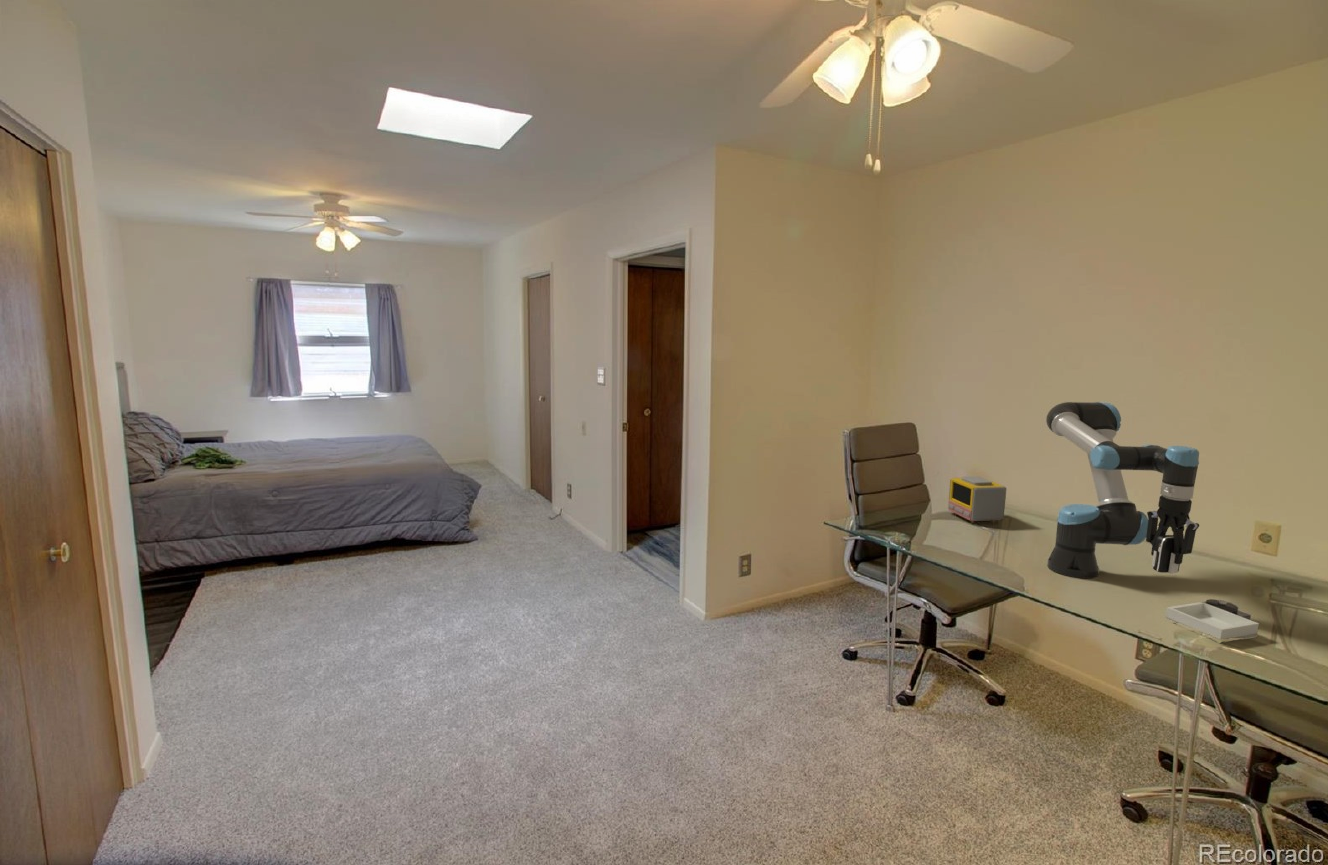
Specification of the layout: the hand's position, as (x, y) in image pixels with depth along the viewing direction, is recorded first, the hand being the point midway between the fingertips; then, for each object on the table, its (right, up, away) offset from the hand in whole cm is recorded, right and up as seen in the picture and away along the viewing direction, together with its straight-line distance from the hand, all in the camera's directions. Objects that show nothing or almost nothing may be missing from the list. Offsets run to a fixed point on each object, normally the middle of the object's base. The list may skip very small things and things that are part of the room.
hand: (1164, 569), depth 185 cm
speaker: (+10, -12, -7) cm, 18 cm away
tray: (0, -13, -15) cm, 20 cm away
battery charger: (0, -1, 0) cm, 1 cm away
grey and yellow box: (-13, +3, +88) cm, 89 cm away
